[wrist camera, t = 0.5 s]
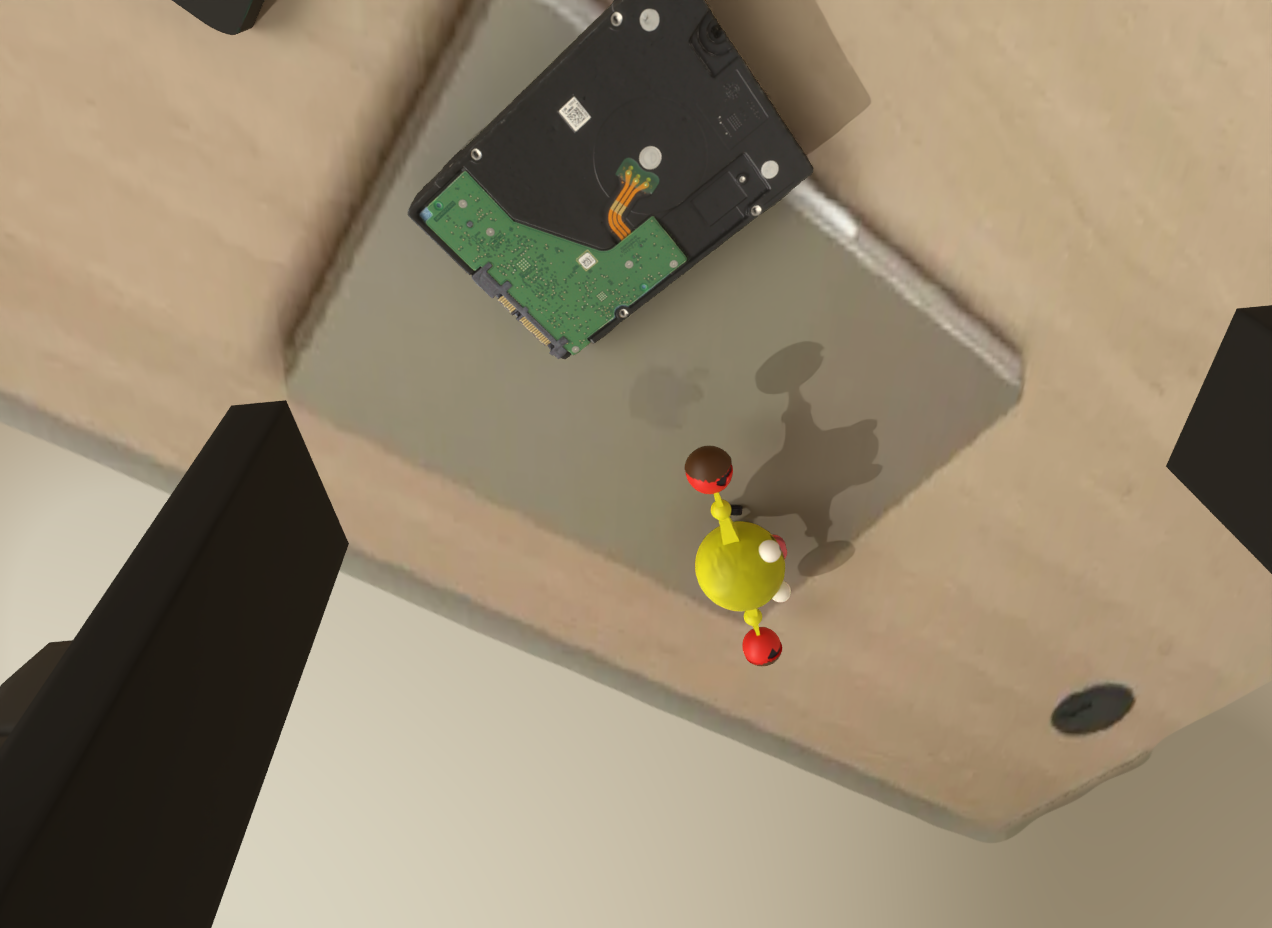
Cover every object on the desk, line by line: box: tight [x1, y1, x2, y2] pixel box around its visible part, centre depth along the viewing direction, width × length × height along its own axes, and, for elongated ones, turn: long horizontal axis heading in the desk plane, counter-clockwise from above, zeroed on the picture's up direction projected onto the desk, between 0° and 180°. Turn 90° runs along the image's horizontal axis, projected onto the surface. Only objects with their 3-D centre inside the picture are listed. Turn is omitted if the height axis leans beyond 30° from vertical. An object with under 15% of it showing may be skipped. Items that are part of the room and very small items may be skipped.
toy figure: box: [685, 446, 791, 666], centre depth 45 cm, size 18×6×7 cm, turn 16°
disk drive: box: [408, 0, 813, 359], centre depth 33 cm, size 10×3×15 cm
